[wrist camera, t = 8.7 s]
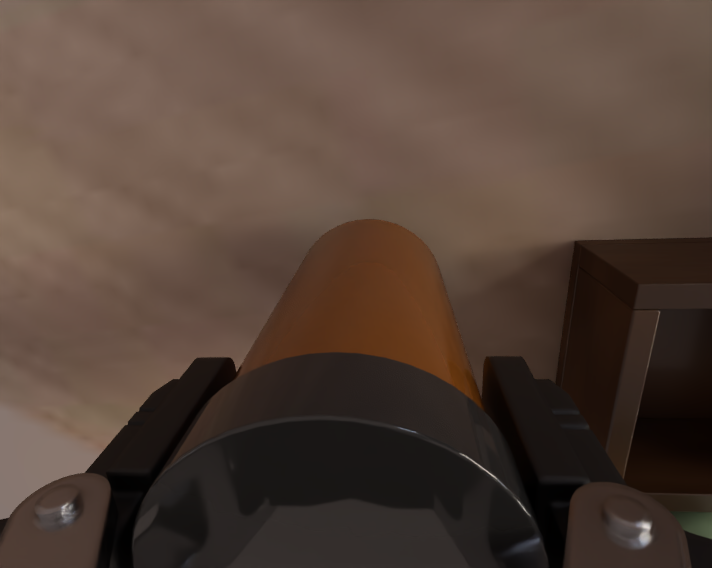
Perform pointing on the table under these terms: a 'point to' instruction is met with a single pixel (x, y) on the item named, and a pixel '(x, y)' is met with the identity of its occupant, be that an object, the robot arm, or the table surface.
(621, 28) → the table surface
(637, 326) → the jar stand
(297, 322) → the amber jar
